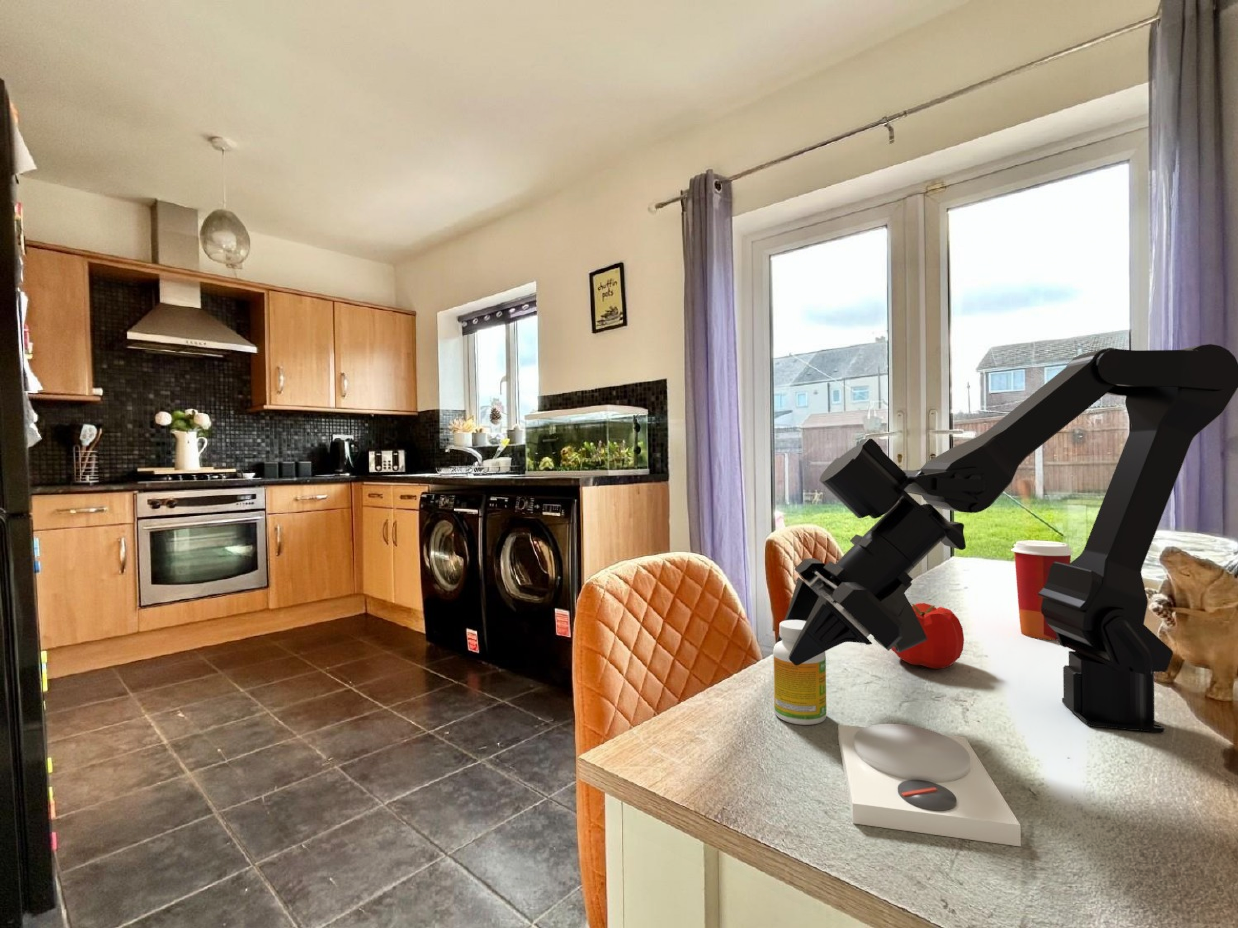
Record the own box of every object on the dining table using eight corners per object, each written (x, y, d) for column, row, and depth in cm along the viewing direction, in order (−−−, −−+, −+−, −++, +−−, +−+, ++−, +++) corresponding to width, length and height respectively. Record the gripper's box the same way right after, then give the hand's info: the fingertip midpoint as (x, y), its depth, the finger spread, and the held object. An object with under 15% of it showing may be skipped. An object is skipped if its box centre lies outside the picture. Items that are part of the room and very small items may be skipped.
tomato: (918, 649, 87) (917, 596, 87) (978, 667, 79) (977, 610, 79) (870, 659, 83) (869, 604, 83) (928, 680, 75) (928, 619, 75)
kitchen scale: (965, 752, 56) (964, 728, 56) (1020, 846, 43) (1020, 813, 43) (838, 739, 59) (838, 716, 59) (852, 823, 45) (852, 792, 45)
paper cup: (1071, 632, 94) (1071, 541, 94) (1076, 645, 87) (1075, 547, 87) (1011, 625, 98) (1010, 538, 98) (1011, 637, 91) (1010, 544, 91)
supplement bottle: (829, 728, 62) (828, 632, 62) (775, 724, 63) (773, 630, 63) (823, 706, 67) (822, 618, 67) (772, 703, 68) (771, 616, 68)
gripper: (996, 627, 55) (872, 748, 55) (908, 584, 73) (816, 675, 74) (906, 540, 55) (784, 661, 56) (841, 519, 74) (750, 611, 74)
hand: (785, 653), depth 65 cm, fingers closed on supplement bottle, 5 cm apart
